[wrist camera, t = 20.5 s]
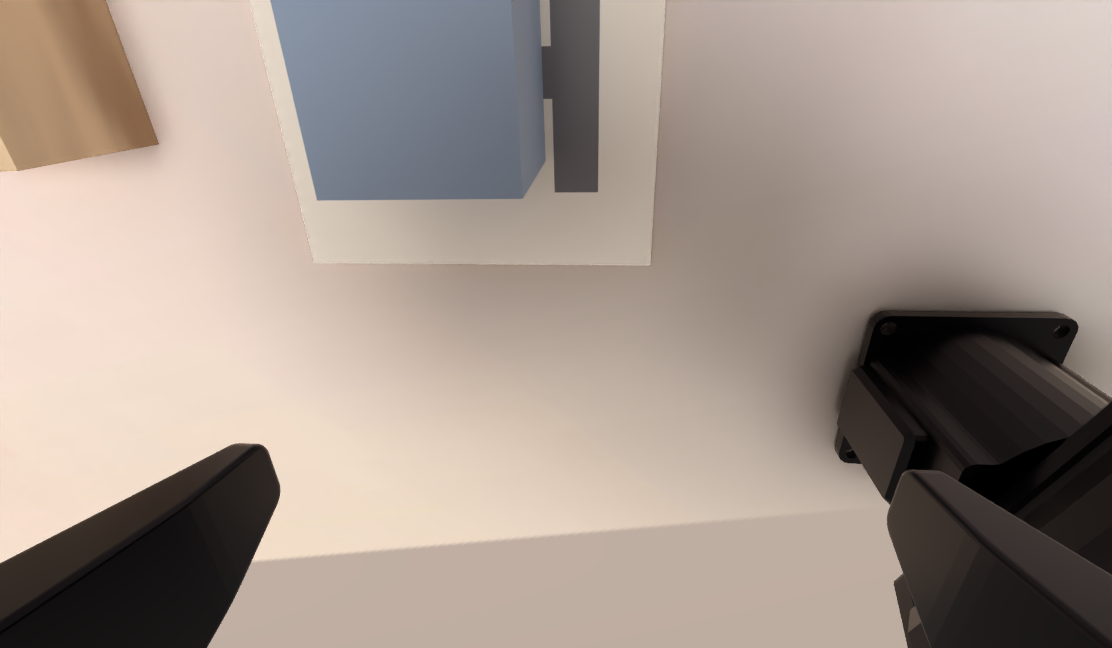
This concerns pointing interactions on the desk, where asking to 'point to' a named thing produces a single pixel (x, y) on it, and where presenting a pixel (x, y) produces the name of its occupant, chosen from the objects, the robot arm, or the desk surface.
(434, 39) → the slate blue cube
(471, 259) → the board
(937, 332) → the robot arm
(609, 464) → the desk surface
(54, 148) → the light oak block
